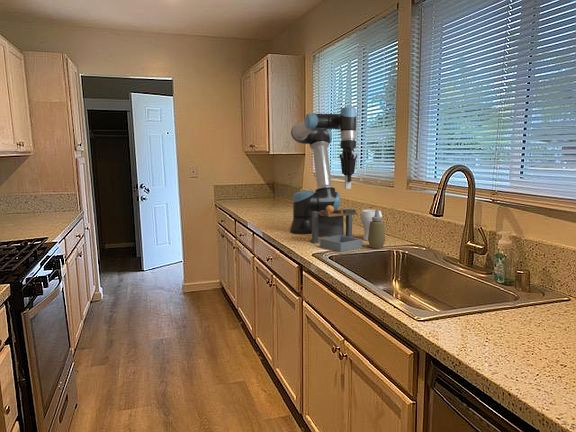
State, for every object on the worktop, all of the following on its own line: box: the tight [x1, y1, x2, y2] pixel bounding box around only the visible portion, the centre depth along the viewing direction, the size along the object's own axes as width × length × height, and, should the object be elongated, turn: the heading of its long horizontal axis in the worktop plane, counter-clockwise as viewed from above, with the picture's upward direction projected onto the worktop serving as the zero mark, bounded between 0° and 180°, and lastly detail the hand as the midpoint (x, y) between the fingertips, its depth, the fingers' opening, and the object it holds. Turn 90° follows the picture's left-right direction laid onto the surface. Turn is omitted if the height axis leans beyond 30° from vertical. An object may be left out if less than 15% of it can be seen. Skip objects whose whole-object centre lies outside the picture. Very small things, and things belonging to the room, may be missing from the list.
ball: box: [326, 205, 334, 213], centre depth 207 cm, size 4×4×4 cm
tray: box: [319, 235, 363, 253], centre depth 198 cm, size 14×14×4 cm
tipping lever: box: [318, 208, 358, 238], centre depth 211 cm, size 18×16×14 cm
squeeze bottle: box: [368, 208, 386, 249], centre depth 197 cm, size 8×8×18 cm
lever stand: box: [309, 211, 356, 244], centre depth 214 cm, size 5×24×16 cm, turn 112°
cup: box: [360, 209, 383, 242], centre depth 215 cm, size 11×11×15 cm
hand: (347, 188), depth 206 cm, fingers closed
